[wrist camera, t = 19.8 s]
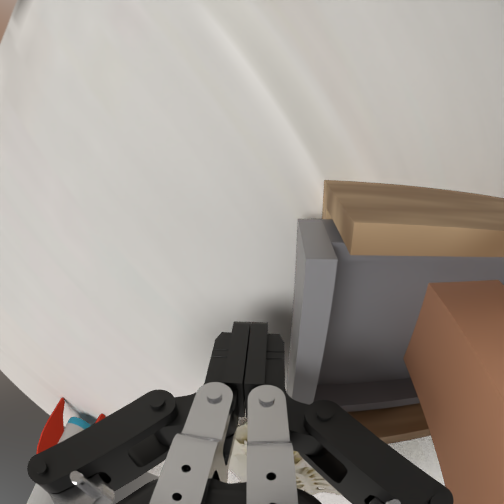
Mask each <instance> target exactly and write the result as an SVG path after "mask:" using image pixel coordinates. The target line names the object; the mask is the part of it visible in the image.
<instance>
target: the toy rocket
mask: <svg viewBox="0 0 504 504" xmlns="http://www.w3.org/2000/svg"><path fill="white" fill-rule="evenodd" d="M64 403H65V402H64V399H63V398H61V400H60V401H59V403H58V404H57V406H56V408H55V409H54V411H53V412H52V414H51V416H50V417H49V419H48V421H47V423H46V425H45V427H44V429H43V431H42V433H41V436H40V440H39V443H38V446H37V453H36V454H38V453H40V452H42V451H44V450H46V449H48V448H50V447H52V446H54V445H56V444H58V443H60V442H62V441H64V440H66V439H68V438H69V437H71V436H73V435H75V434H77V433H79V432H81V431H82V430H84V429H86V428H88V427H90V426H92V425H90V424H89V423H87V422H86V421H84V420H82V419H80V418H77V417H71V418H70V419H69V421H68V423H67V425H66V427H65V428H63V410H64ZM104 418H105V415H103V414H101V415H100V416H99V417H98V419H97V420H96V422H95V423H97V422H99V421H100V420H102V419H104ZM27 504H54V502H53V501H52V499H51V497H50V495H49V494H48V492H46V491H45V490H44V489H43V488H42V487H41V486H39V485H38V484H37V483H36V485H35V487H34V489H33V491H32V493H31V496H30V498H29V500H28V502H27Z"/></svg>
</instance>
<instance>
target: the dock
mask: <svg viewBox="0 0 504 504" xmlns="http://www.w3.org/2000/svg"><path fill="white" fill-rule="evenodd" d="M322 219H332V220H333V221H334V223H335V225H336V227H337V229H338V231H339V233H340V235H341V237H342V239H343V241H344V243H345V245H346V247H347V249H348V251H349V254H350V255H377V256H451V257H504V198H498V197H492V196H486V195H479V194H473V193H466V192H458V191H451V190H442V189H434V188H425V187H415V186H405V185H394V184H381V183H367V182H352V181H332V180H324V195H323V212H322ZM347 413H349V414H350V415H351V416H352V417H353V418H355V419H356V420H357V421H358V422H360V423H361V424H362V425H363V426H365V427H366V428H367V429H368V430H370V431H371V432H372V433H373V434H375V435H376V436H377V437H378V438H380V439H381V440H382V441H384V442H385V443H386V444H389V443H395V442H401V441H406V440H411V439H416V438H421V437H425V436H429V435H431V434H430V431H429V428H428V424H427V421H426V418H425V416H424V413H423V410H422V407H421V404H420V403H417V404H411V405H404V406H398V407H390V408H382V409H374V410H364V411H353V412H347Z"/></svg>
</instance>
